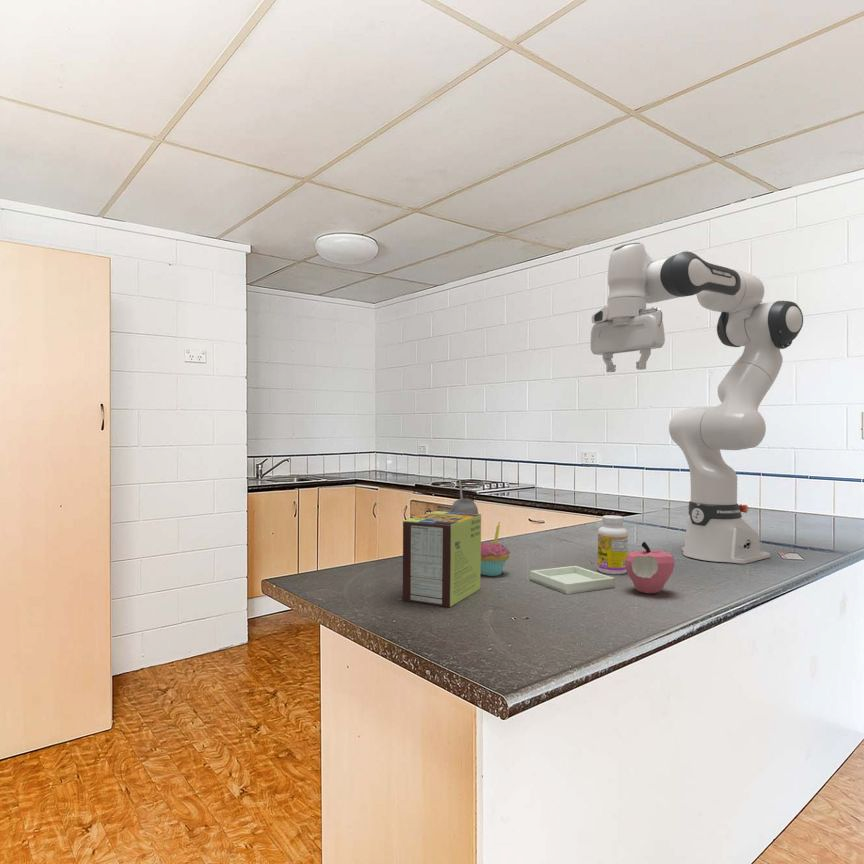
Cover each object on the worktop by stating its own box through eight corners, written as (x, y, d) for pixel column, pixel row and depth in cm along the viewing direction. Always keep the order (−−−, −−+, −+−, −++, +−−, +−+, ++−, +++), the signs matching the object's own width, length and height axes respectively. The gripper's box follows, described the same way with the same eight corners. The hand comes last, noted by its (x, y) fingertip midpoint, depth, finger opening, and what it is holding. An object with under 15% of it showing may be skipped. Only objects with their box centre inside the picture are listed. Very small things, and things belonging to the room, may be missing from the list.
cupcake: (514, 571, 146) (514, 519, 146) (502, 579, 138) (502, 525, 138) (479, 567, 150) (479, 517, 149) (465, 575, 142) (466, 522, 142)
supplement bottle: (593, 568, 150) (594, 514, 150) (620, 568, 151) (621, 514, 151) (603, 575, 144) (604, 518, 143) (631, 575, 144) (632, 518, 144)
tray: (575, 574, 144) (575, 565, 144) (614, 587, 133) (614, 578, 133) (529, 580, 138) (529, 570, 138) (566, 594, 127) (566, 584, 127)
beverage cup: (476, 564, 153) (477, 481, 152) (446, 563, 154) (447, 481, 154) (480, 558, 160) (481, 479, 159) (451, 557, 161) (452, 478, 161)
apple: (618, 592, 129) (619, 543, 128) (632, 584, 136) (632, 537, 136) (667, 600, 123) (668, 549, 123) (678, 591, 130) (679, 543, 130)
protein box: (481, 589, 131) (482, 513, 130) (450, 608, 117) (451, 524, 117) (435, 582, 135) (436, 510, 135) (400, 600, 121) (401, 519, 121)
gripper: (671, 307, 143) (670, 368, 143) (605, 319, 161) (604, 374, 161) (652, 304, 140) (651, 366, 140) (586, 317, 158) (585, 372, 158)
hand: (625, 370), depth 151 cm, fingers open, 8 cm apart
